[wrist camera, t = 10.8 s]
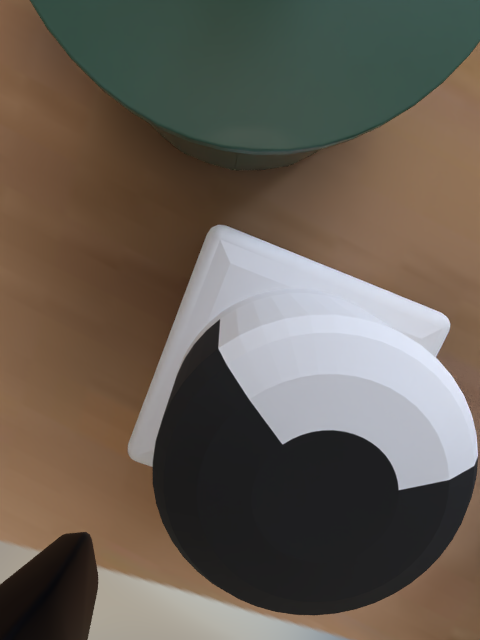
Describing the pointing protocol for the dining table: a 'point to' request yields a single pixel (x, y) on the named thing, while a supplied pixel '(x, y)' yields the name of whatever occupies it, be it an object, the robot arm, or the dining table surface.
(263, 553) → the medicine bottle
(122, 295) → the dining table surface
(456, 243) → the dining table surface
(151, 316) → the dining table surface
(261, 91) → the pot lid
